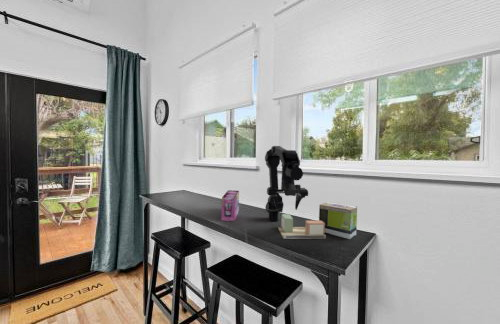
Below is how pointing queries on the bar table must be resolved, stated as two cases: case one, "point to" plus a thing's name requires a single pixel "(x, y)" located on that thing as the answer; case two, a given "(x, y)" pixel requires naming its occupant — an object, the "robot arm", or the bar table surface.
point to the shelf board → (299, 234)
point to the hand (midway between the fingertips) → (286, 209)
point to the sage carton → (287, 223)
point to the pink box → (314, 228)
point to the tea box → (339, 219)
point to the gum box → (230, 205)
